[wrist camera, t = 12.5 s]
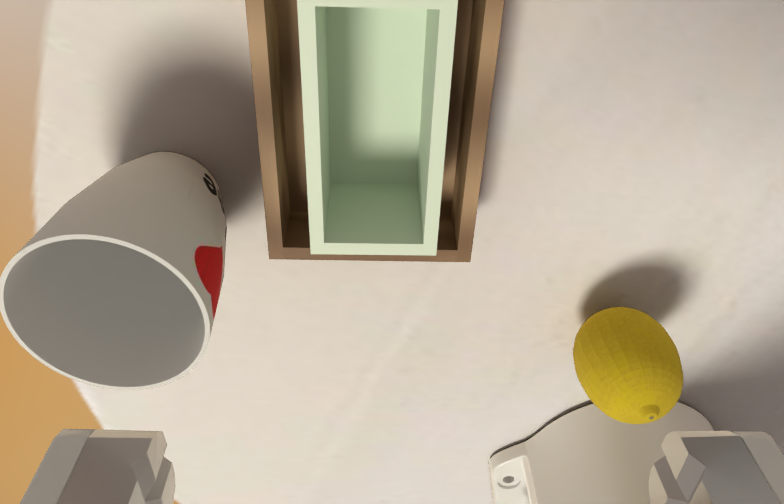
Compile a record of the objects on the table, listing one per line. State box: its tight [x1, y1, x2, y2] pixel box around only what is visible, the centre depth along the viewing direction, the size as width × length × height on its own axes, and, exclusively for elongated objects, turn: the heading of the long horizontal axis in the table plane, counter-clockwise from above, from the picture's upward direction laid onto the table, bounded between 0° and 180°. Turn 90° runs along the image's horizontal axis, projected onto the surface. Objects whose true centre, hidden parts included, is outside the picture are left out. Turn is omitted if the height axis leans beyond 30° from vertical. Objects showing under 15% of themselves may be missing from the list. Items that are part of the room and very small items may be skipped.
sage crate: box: [297, 0, 458, 256], centre depth 27 cm, size 11×6×6 cm, turn 178°
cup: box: [0, 152, 227, 390], centre depth 29 cm, size 8×8×10 cm
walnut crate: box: [245, 0, 504, 262], centre depth 28 cm, size 15×10×4 cm, turn 178°
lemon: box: [573, 307, 683, 424], centre depth 36 cm, size 6×6×8 cm
